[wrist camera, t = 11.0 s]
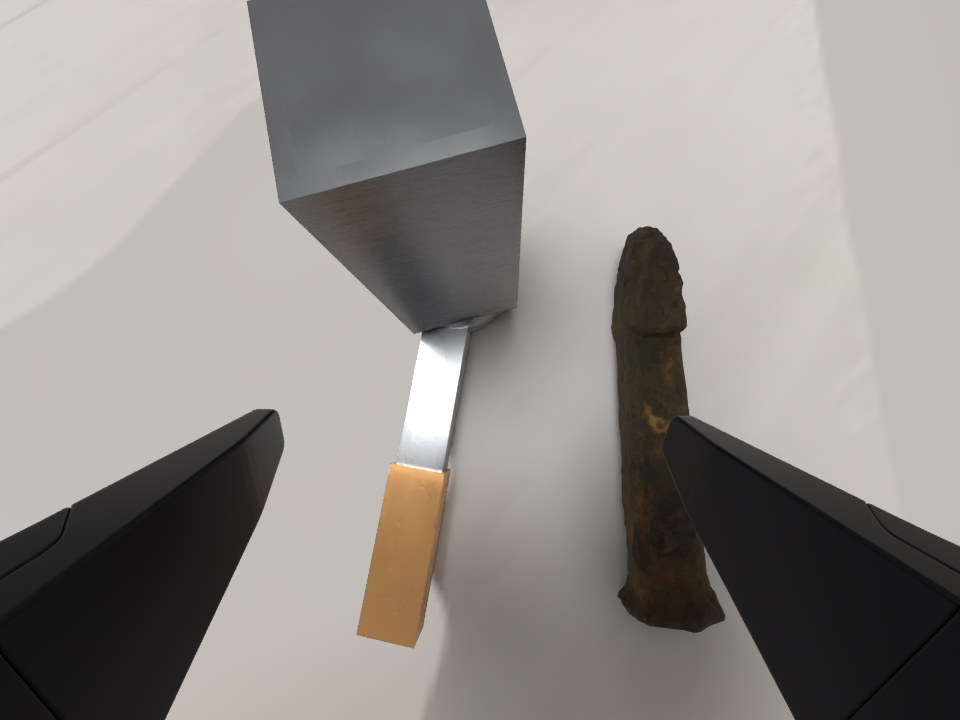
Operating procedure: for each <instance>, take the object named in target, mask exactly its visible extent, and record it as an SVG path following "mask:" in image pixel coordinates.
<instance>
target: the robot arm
mask: <svg viewBox="0 0 960 720" xmlns="http://www.w3.org/2000/svg"><path fill="white" fill-rule="evenodd" d="M283 449H284V437H283V432H282V428H281V422H280V417H279V414H278V412H277V411H276V410H273V409H256V410H253V411H252V412H250V413H248V414H246V415H244V416H242V417H240V418H238V419H236V420H234V421H232V422H231V423H229V424H227V425H225V426H223V427H221V428H219V429H217V430H215V431H213V432H211V433H209V434H207V435H205V436H204V437H201V438H200V439H198V440H196V441H194V442H192V443H190V444H188V445H186V446H184V447H182V448H180V449H178V450H177V451H175V452H173V453H171V454H169V455H167V456H165V457H163V458H161V459H159V460H157V461H155V462H153V463H151V464H150V465H148V466H146V467H144V468H142V469H140V470H138V471H136V472H134V473H132V474H131V475H128V476H126V477H124V478H123V479H121V480H119V481H117V482H115V483H113V484H111V485H109V486H108V487H105V488H103V489H101V490H99V491H97V492H96V493H94V494H92V495H90V496H88V497H86V498H84V499H82V500H80V501H78V502H77V503H74V504H73V505H72V506H71V508H65V509H63V510H61V511H59V512H57V513H55V514H53V515H51V516H49V517H47V518H45V519H44V520H42V521H40V522H38V523H36V524H34V525H32V526H30V527H28V528H26V529H24V530H22V531H20V532H18V533H16V534H14V535H12V536H10V537H8V538H6V539H4V540H2V541H0V720H165V719H166V716H167V714H168V712H169V710H170V708H171V706H172V704H173V702H174V699H175V697H176V695H177V693H178V691H179V689H180V687H181V685H182V682H183V680H184V678H185V676H186V674H187V672H188V670H189V668H190V665H191V663H192V661H193V659H194V657H195V655H196V652H197V651H198V648H199V646H200V644H201V642H202V640H203V638H204V635H205V634H206V631H207V629H208V627H209V625H210V623H211V621H212V619H213V617H214V614H215V612H216V610H217V608H218V606H219V603H220V602H221V600H222V597H223V595H224V593H225V591H226V589H227V587H228V585H229V582H230V580H231V578H232V576H233V574H234V572H235V570H236V567H237V566H238V563H239V561H240V559H241V557H242V555H243V553H244V551H245V548H246V546H247V544H248V542H249V540H250V538H251V536H252V533H253V532H254V529H255V527H256V525H257V523H258V521H259V518H260V516H261V514H262V511H263V509H264V506H265V503H266V500H267V497H268V494H269V491H270V488H271V485H272V482H273V479H274V476H275V473H276V470H277V467H278V464H279V461H280V458H281V456H282V453H283ZM662 450H663V454H664V457H665V460H666V462H667V465H668V467H669V470H670V472H671V475H672V477H673V480H674V482H675V485H676V487H677V490H678V492H679V495H680V497H681V500H682V502H683V504H684V507H685V509H686V511H687V513H688V515H689V517H690V519H691V521H692V523H693V525H694V527H695V529H696V531H697V533H698V535H699V537H700V539H701V541H702V542H703V544H704V546H705V548H706V550H707V552H708V554H709V556H710V558H711V560H712V562H713V563H714V565H715V567H716V569H717V571H718V573H719V575H720V577H721V579H722V581H723V583H724V585H725V586H726V588H727V590H728V592H729V594H730V596H731V598H732V600H733V602H734V604H735V606H736V608H737V609H738V611H739V613H740V615H741V617H742V619H743V621H744V623H745V625H746V627H747V629H748V630H749V632H750V634H751V636H752V638H753V640H754V642H755V644H756V646H757V648H758V650H759V652H760V653H761V655H762V657H763V659H764V661H765V663H766V665H767V667H768V669H769V671H770V673H771V675H772V676H773V678H774V680H775V682H776V684H777V686H778V688H779V690H780V692H781V694H782V696H783V697H784V699H785V701H786V703H787V705H788V707H789V709H790V711H791V713H792V715H793V717H794V719H795V720H960V546H958V545H956V544H954V543H951V542H949V541H947V540H945V539H943V538H940V537H938V536H936V535H934V534H932V533H930V532H927V531H925V530H923V529H921V528H919V527H917V526H915V525H913V524H911V523H909V522H907V521H905V520H902V519H900V518H898V517H896V516H894V515H892V514H890V513H888V512H886V511H884V510H882V509H880V508H878V507H876V506H874V505H872V504H866V502H865V501H863V500H861V499H859V498H857V497H855V496H853V495H851V494H849V493H847V492H845V491H843V490H841V489H839V488H837V487H835V486H833V485H831V484H829V483H827V482H825V481H823V480H821V479H819V478H817V477H815V476H813V475H810V474H808V473H806V472H804V471H802V470H800V469H798V468H796V467H794V466H792V465H790V464H788V463H786V462H784V461H782V460H780V459H778V458H776V457H774V456H772V455H770V454H768V453H766V452H764V451H762V450H760V449H758V448H756V447H753V446H751V445H749V444H747V443H745V442H743V441H741V440H739V439H737V438H735V437H733V436H731V435H729V434H727V433H725V432H723V431H721V430H719V429H717V428H715V427H713V426H711V425H709V424H707V423H705V422H703V421H701V420H699V419H697V418H694V417H692V416H675V417H673V418H672V419H671V421H670V423H669V426H668V429H667V432H666V435H665V438H664V441H663V445H662Z"/></svg>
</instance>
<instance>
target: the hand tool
mask: <svg viewBox="0 0 960 720" xmlns="http://www.w3.org/2000/svg"><path fill="white" fill-rule="evenodd" d="M678 271H679V264H678V260H677V258H676V256H675V253H674V251H673V249H672V244H671V243H670V242H669V241H668V240H667V238H666V237H665V236H664V235H663V234H662V233H661V232H660V231H659V230H658V229H657V228H652V227H650V226H648V227H647V226H646V227H643V228H641V227H640V228H638V229H637V230H635V231H634V232H633V233H631V234H629V235H628V236H627V239H626V242H625V247H624V249H623V253H622V256H621V260H620V263H619V267H618V274H617V283H616V286H615V292H614V309H613V318H612V326H611V328H612V334H613V338H614V340H615V341H616V345H617V366H618V396H619V427H620V434H621V449H622V471H621V472H622V503H623V508H624V514H625V526H626V531H627V548H628V577H627V582H626V585H625V586H624V587H623V588H622V589H621V590H620V591H619V593H618V596H617V597H619V598H620V599H621V600H622V604H623V605H624V607H625V608H626V609H627V611H628V612H629V614H630V615H632V616H633V617H635V618H636V619H637V620H639V621H641V622H643V623H645V624H647V625H650V626H655V627H662V628H670V629H678V630H685V631H689V632H693V633H697V632H701V631H703V630H704V629H705V628H707V627H708V626H711V625H713V624H716V623H719V622H722V621H724V620H725V614H724V612H723V609H722V607H721V606H720V604H719V602H718V599H717V597H716V594H715V592H714V590H713V589H712V587H711V586H710V583H709V579H708V576H707V571H706V563H705V553H704V544H703V542H702V541H701V539H700V537H699V535H698V533H697V531H696V529H695V527H694V525H693V523H692V521H691V519H690V517H689V515H688V513H687V511H686V509H685V507H684V504H683V502H682V500H681V497H680V495H679V492H678V490H677V487H676V485H675V482H674V480H673V477H672V475H671V472H670V470H669V467H668V465H667V462H666V460H665V457H664V454H663V450H662V445H663V441H664V438H665V435H666V432H667V429H668V426H669V423H670V421H671V419H672V418H673V417H675V416H689V409H688V399H687V389H686V382H685V375H684V368H683V361H682V352H681V335H680V332H681V331H683V330H684V329H685V328H686V327H687V317H686V312H685V309H686V305H685V303H684V300H683V297H682V286H683V281H682V278H681V276H680V274H679V273H678Z"/></svg>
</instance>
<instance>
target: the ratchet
mask: <svg viewBox="0 0 960 720" xmlns="http://www.w3.org/2000/svg"><path fill="white" fill-rule="evenodd" d="M499 314H500V312H498V313H494V314H490V315H486V316H482V317H478V318H474V319H470V320H466V321H462V322H458V323H454V324H451V325H447V326H443V327H439V328H435V329H431V330H427V331H423V332H422V336H421V342H420V347H419V352H418V357H417V362H416V367H415V372H414V378H413V383H412V387H411V393H410V398H409V403H408V408H407V413H406V418H405V423H404V429H403V434H402V439H401V444H400V449H399V455H398V459H397V462H395V463H391V464H390V469H389V475H388V479H387V484H386V489H385V494H384V499H383V504H382V509H381V514H380V520H379V524H378V530H377V534H376V540H375V545H374V550H373V555H372V560H371V565H370V571H369V575H368V580H367V585H366V590H365V595H364V600H363V606H362V610H361V615H360V620H359V625H358V630H357V635H359V636H363V637H367V638H372V639H377V640H381V641H385V642H389V643H393V644H397V645H402V646H406V647H411V648H414V646H415V644H416V642H417V640H418V637H419V635H420V632H421V630H422V628H423V623H424V618H425V612H426V607H427V601H428V595H429V590H430V584H431V578H432V572H433V567H434V561H435V555H436V549H437V544H438V538H439V532H440V527H441V521H442V515H443V509H444V504H445V498H446V492H447V487H448V481H449V475H450V469H447V466H448V460H449V454H450V449H451V443H452V437H453V432H454V426H455V420H456V415H457V409H458V403H459V398H460V392H461V386H462V381H463V375H464V369H465V364H466V358H467V352H468V347H469V341H470V335H471V332H474V331H477V330H479V329H481V328H483V327H485V326H487V325H488V324H489V323H491V322H492V321H493V320H494V319H495V318H496V317H497V316H498V315H499Z"/></svg>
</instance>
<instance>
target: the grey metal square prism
mask: <svg viewBox="0 0 960 720" xmlns="http://www.w3.org/2000/svg"><path fill="white" fill-rule="evenodd" d="M247 5H248V11H249V17H250V23H251V30H252V36H253V42H254V49H255V55H256V61H257V67H258V74H259V80H260V86H261V92H262V99H263V105H264V111H265V117H266V124H267V130H268V136H269V142H270V149H271V155H272V161H273V167H274V174H275V180H276V186H277V192H278V198H279V203H280V204H281V205H282V206H283V207H284V208H285V209H286V210H287V211H288V212H289V213H290V214H291V215H292V216H293V217H294V218H295V219H296V220H297V221H298V222H299V223H300V224H302V225H303V226H304V227H305V228H306V229H307V230H308V231H309V232H310V233H311V234H312V235H313V236H314V237H315V238H316V239H317V240H318V241H319V242H320V243H321V244H322V245H323V246H324V247H325V248H326V249H327V250H328V251H329V252H330V253H331V254H332V255H333V256H335V257H336V258H337V259H338V260H339V261H340V262H341V263H342V264H343V265H344V266H345V267H346V268H347V269H348V270H349V271H350V272H351V273H352V274H353V275H354V276H355V277H356V278H357V279H358V280H359V281H360V282H361V283H362V284H363V285H365V287H366V288H367V289H369V291H371V292H372V293H373V294H374V295H375V296H376V297H377V298H378V299H379V300H380V301H381V302H382V303H383V304H384V305H385V306H386V307H387V308H388V309H389V310H390V311H391V312H392V313H393V314H394V315H395V316H396V317H397V318H398V319H399V320H400V321H401V322H403V323H404V324H405V325H406V326H407V327H408V328H409V329H410V330H411V331H412V332H413V333H414V334H415V333H419V332H423V331H427V330H431V329H435V328H439V327H443V326H447V325H451V324H454V323H458V322H462V321H466V320H470V319H474V318H478V317H482V316H486V315H490V314H494V313H498V312H502V311H506V310H510V309H514V308H517V293H518V275H519V257H520V239H521V222H522V204H523V186H524V168H525V151H526V134H525V131H524V128H523V124H522V121H521V117H520V114H519V111H518V107H517V104H516V100H515V97H514V94H513V90H512V87H511V84H510V80H509V77H508V73H507V70H506V67H505V63H504V60H503V57H502V53H501V50H500V46H499V43H498V40H497V36H496V33H495V29H494V26H493V23H492V19H491V16H490V13H489V9H488V6H487V2H486V0H250V1H247Z"/></svg>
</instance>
